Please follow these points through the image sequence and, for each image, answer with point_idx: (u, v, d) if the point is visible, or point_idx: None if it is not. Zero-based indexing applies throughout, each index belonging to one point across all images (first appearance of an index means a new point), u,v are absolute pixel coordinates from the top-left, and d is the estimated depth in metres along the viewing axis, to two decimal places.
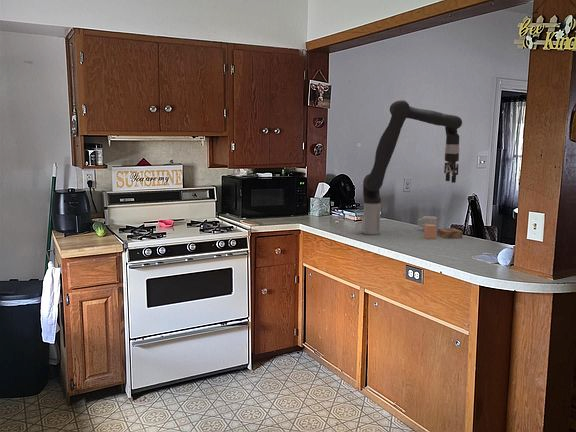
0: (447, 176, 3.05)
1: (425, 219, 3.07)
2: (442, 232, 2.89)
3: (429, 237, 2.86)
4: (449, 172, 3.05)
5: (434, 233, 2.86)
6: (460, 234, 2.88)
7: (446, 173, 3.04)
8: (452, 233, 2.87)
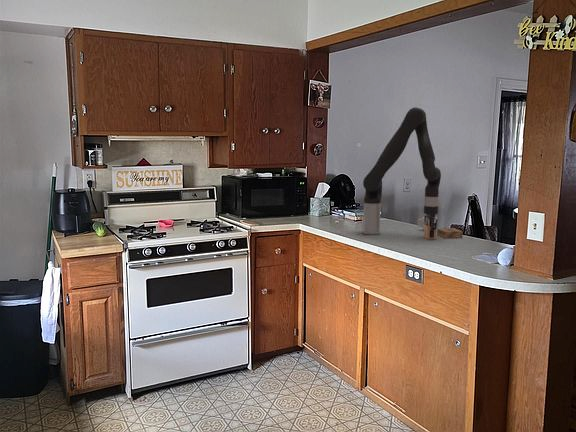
0: None
1: None
2: (442, 232, 2.89)
3: (429, 237, 2.86)
4: None
5: (434, 233, 2.86)
6: (460, 234, 2.88)
7: None
8: (452, 233, 2.87)
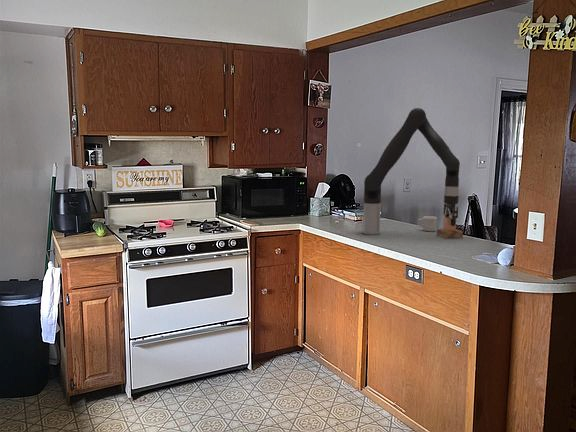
0: None
1: (425, 219, 3.07)
2: (443, 232, 2.89)
3: (449, 229, 2.90)
4: (448, 214, 2.95)
5: None
6: (461, 234, 2.88)
7: (445, 215, 2.95)
8: (453, 233, 2.87)
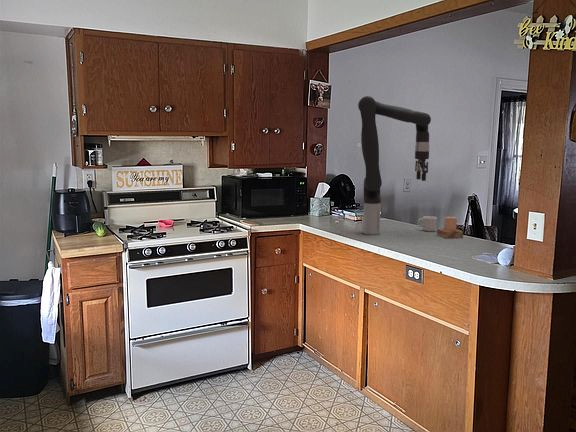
0: (418, 174, 2.99)
1: (425, 219, 3.07)
2: (443, 232, 2.89)
3: (449, 229, 2.89)
4: (420, 170, 2.99)
5: (454, 225, 2.89)
6: (461, 234, 2.88)
7: (417, 171, 2.99)
8: (453, 233, 2.87)
